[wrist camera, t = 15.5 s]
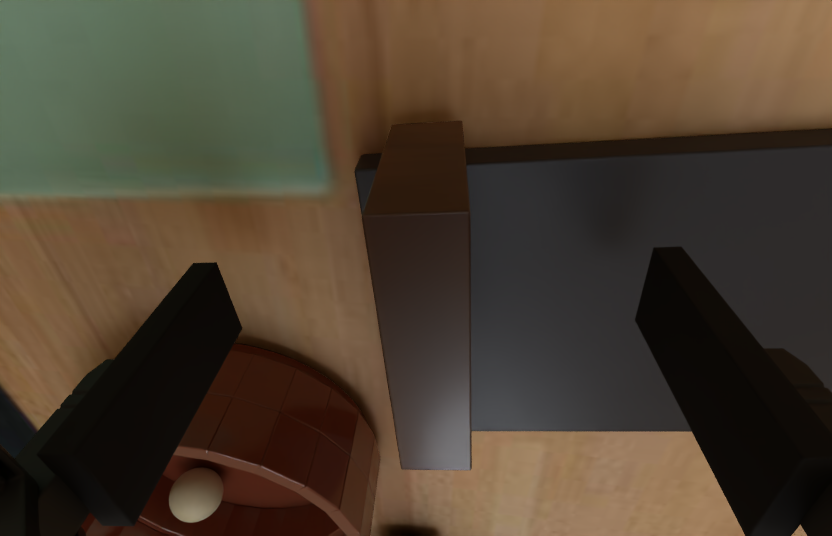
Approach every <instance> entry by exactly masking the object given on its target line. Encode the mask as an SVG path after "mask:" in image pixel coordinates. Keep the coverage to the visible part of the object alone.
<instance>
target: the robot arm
mask: <svg viewBox="0 0 832 536" xmlns="http://www.w3.org/2000/svg"><path fill="white" fill-rule="evenodd" d="M635 322H636V324H637V325H638V327H639V329H640V331H641V333H642V335H643V337H644V339H645V341H646V343H647V345H648V347H649V349H650V351H651V353H652V355H653V357H654V359H655V361H656V362H657V364H658V366H659V368H660V370H661V372H662V374H663V376H664V378H665V380H666V382H667V384H668V386H669V388H670V390H671V392H672V394H673V396H674V397H675V399H676V401H677V403H678V405H679V407H680V409H681V411H682V413H683V415H684V417H685V419H686V421H687V423H688V425H689V427H690V429H691V431H692V433H693V434H694V436H695V438H696V440H697V442H698V444H699V446H700V448H701V450H702V452H703V454H704V456H705V458H706V460H707V462H708V464H709V466H710V468H711V469H712V471H713V473H714V475H715V477H716V479H717V481H718V483H719V485H720V487H721V489H722V491H723V493H724V495H725V497H726V499H727V501H728V503H729V505H730V506H731V508H732V510H733V512H734V514H735V516H736V518H737V520H738V522H739V524H740V526H741V528H742V530H743V532H744V534H745V536H791V535H792V534H793V533H794V531H795V530H796V529H797V528H798V526H799V525H800V524H801V526H802V528H803V529H804V531H805V532H806V534H807V536H832V393H831V391H830V390H829V389H828V388H825V387H824V383H823V382H822V381H821V380H820V379H819V378H818V377H817V375H816V374H815V373H814V372H813V371H812V370H811V369H810V367H809V366H808V365H807V364H805V363H804V362H802V361H801V360H799V359H798V358H797V357H795V356H794V355H792V354H791V353H789V352H788V351H786V350H785V349H783V348H767V349H764V348H763V347H762V346H761V345H760V344H759V342H758V341H757V340H756V339H755V337H754V336H753V335H752V334H751V332H750V331H749V330H748V329H747V327H746V326H745V325H744V324H743V322H742V321H741V320H740V319H739V317H738V316H737V315H736V314H735V312H734V311H733V310H732V309H731V307H730V306H729V305H728V304H727V302H726V301H725V300H724V299H723V297H722V296H721V295H720V294H719V292H718V291H717V290H716V289H715V288H714V286H713V285H712V284H711V283H710V281H709V280H708V279H707V278H706V276H705V275H704V274H703V273H702V271H701V270H700V269H699V268H698V266H697V265H696V264H695V263H694V261H693V260H692V259H691V258H690V256H689V255H688V254H687V253H686V251H685V250H684V249H683V248H682V246H678V247H653V251H652V255H651V259H650V263H649V267H648V271H647V275H646V278H645V282H644V286H643V290H642V294H641V298H640V302H639V306H638V309H637V313H636V317H635ZM241 330H242V326H241V324H240V321H239V319H238V316H237V314H236V311H235V308H234V306H233V303H232V301H231V298H230V296H229V293H228V291H227V288H226V285H225V283H224V280H223V278H222V275H221V273H220V270H219V268H218V265H217V262H214V263H193V264H192V265H191V266H190V268H189V269H188V270H187V271H186V273H185V274H184V275H183V276H182V277H181V279H180V280H179V281H178V282H177V284H176V285H175V286H174V287H173V288H172V290H171V291H170V292H169V293H168V295H167V296H166V297H165V298H164V299H163V301H162V302H161V303H160V304H159V306H158V307H157V308H156V309H155V310H154V312H153V313H152V314H151V315H150V316H149V318H148V319H147V320H146V321H145V323H144V324H143V325H142V326H141V327H140V329H139V330H138V331H137V332H136V334H135V335H134V336H133V337H132V338H131V340H130V341H129V342H128V343H127V345H126V346H125V347H124V348H123V349H122V351H121V352H120V353H119V354H118V355H117V357H116V358H115V359H109V360H105V361H104V362H103V363H101V364H100V365H99V366H97V367H96V368H95V369H93V370H92V371H91V372H89V373H88V374H87V375H86V376H85V377H84V378H83V379H82V381H81V382H80V383H79V384H78V385H77V386H76V388H75V389H74V390H73V391H72V392H73V393H72V395H69V396H68V397H67V398H66V399H65V400H64V402H63V403H62V404H61V405H60V406H61V407H60V409H57V410H56V411H55V412H54V413H53V414H52V416H51V417H50V418H49V419H48V420H47V421H46V423H45V424H44V425H43V426H42V427H41V428H40V430H39V431H38V432H37V433H36V434H35V435H34V437H33V438H32V439H31V440H30V441H29V442H28V444H27V445H26V446H25V447H24V448H23V449H22V451H21V452H20V453H19V454H18V455H17V456H16V458H15V459H14V458H13V457H12V456H11V455H10V454H9V453H8V452H7V451H6V450H5V449H4V448H3V447H2V446H1V445H0V536H87V535H86V533H85V531H84V529H83V528H82V527H81V526H82V524H83V523H84V521H85V519H86V518H87V516H88V515H89V513H91V514H92V515H93V516H94V517H95V518H96V519H97V520H98V522H99V523H100V524H101V525H102V526H135V524H136V522H137V520H138V518H139V516H140V515H141V513H142V511H143V509H144V507H145V505H146V504H147V502H148V500H149V498H150V496H151V494H152V493H153V491H154V489H155V487H156V485H157V483H158V482H159V480H160V478H161V476H162V474H163V473H164V471H165V469H166V467H167V465H168V463H169V462H170V460H171V458H172V456H173V454H174V452H175V451H176V449H177V447H178V445H179V443H180V441H181V440H182V438H183V436H184V434H185V432H186V430H187V429H188V427H189V425H190V423H191V421H192V419H193V418H194V416H195V414H196V412H197V410H198V408H199V407H200V405H201V403H202V401H203V399H204V397H205V396H206V394H207V392H208V390H209V388H210V387H211V385H212V383H213V381H214V379H215V377H216V376H217V374H218V372H219V370H220V368H221V366H222V365H223V363H224V361H225V359H226V357H227V355H228V354H229V352H230V350H231V348H232V346H233V344H234V343H235V341H236V339H237V337H238V335H239V333H240V332H241Z"/></svg>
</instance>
